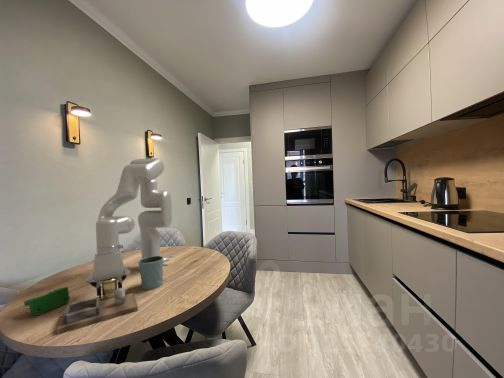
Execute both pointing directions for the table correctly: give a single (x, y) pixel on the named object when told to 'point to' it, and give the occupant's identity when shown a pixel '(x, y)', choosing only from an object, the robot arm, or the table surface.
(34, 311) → the clamp
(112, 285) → the brass door knob
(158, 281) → the grey-green cup
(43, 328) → the table surface
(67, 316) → the fitting board
